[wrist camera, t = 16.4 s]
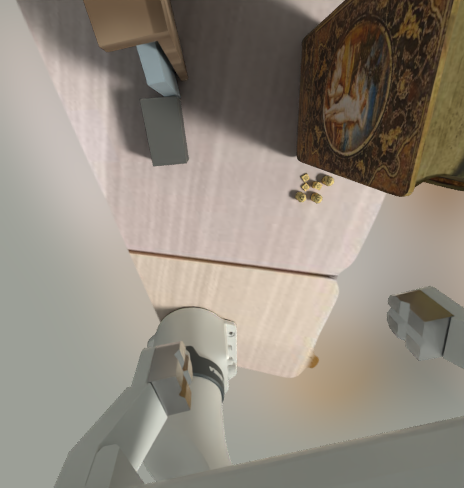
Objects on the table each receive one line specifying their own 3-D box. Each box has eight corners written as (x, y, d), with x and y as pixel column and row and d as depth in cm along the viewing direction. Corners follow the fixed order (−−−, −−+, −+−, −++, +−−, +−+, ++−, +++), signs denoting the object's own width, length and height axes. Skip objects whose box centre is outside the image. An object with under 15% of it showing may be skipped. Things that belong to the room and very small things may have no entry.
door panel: (180, 97, 35) (165, 81, 23) (169, 100, 36) (147, 85, 23) (152, -17, 30) (111, -119, 18) (139, -14, 30) (89, -114, 18)
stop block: (188, 159, 39) (186, 163, 35) (159, 161, 39) (153, 166, 35) (180, 99, 36) (176, 96, 32) (148, 102, 36) (139, 98, 31)
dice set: (330, 176, 43) (335, 178, 41) (318, 204, 45) (322, 208, 43) (302, 168, 42) (307, 169, 40) (291, 197, 44) (295, 200, 42)
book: (302, 30, 34) (492, -167, 11) (342, 28, 34) (608, -167, 11) (295, 160, 41) (405, 201, 18) (329, 157, 41) (479, 195, 18)
